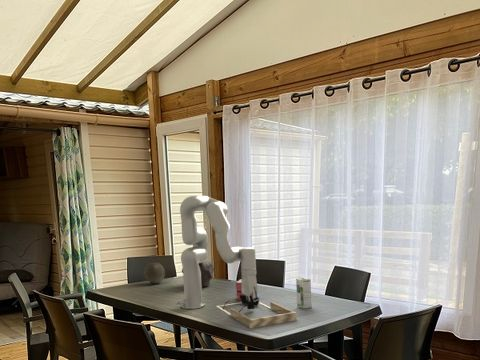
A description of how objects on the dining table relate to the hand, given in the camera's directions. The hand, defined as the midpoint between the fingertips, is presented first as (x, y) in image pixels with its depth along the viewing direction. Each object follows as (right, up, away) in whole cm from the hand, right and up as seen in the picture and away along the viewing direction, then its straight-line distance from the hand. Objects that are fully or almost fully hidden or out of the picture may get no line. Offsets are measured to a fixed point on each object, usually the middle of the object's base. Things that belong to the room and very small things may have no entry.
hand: (250, 308), depth 209 cm
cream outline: (-3, -2, +7) cm, 8 cm away
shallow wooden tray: (+5, 0, -13) cm, 14 cm away
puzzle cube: (-1, -3, +28) cm, 28 cm away
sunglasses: (-5, -3, +7) cm, 9 cm away
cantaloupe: (-66, -9, +84) cm, 107 cm away
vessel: (-34, -6, +67) cm, 75 cm away
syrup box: (+28, 0, +3) cm, 28 cm away
